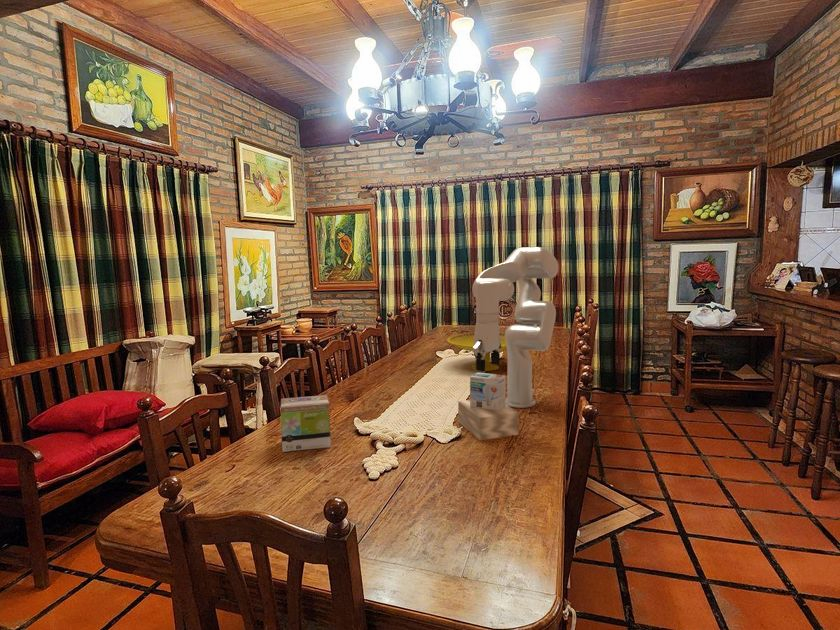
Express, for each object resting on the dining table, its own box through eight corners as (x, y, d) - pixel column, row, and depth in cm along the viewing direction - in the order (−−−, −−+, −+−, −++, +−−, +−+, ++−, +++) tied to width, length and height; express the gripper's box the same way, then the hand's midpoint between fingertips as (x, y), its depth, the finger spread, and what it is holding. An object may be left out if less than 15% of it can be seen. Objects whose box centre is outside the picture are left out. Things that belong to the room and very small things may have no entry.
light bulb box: (469, 406, 162) (469, 376, 161) (477, 401, 168) (477, 371, 167) (498, 411, 157) (498, 379, 156) (506, 405, 163) (506, 375, 161)
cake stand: (535, 363, 254) (535, 335, 252) (507, 381, 220) (507, 350, 218) (467, 356, 275) (467, 330, 273) (432, 371, 241) (431, 342, 239)
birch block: (493, 418, 174) (493, 396, 173) (518, 435, 157) (518, 412, 156) (458, 422, 170) (458, 401, 169) (479, 441, 153) (479, 417, 152)
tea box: (282, 453, 146) (279, 407, 144) (282, 441, 155) (279, 397, 153) (331, 447, 150) (329, 402, 148) (329, 436, 159) (327, 393, 157)
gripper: (490, 313, 168) (491, 360, 170) (464, 320, 154) (465, 371, 157) (509, 314, 163) (510, 363, 166) (484, 322, 150) (484, 375, 152)
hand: (488, 367), depth 161 cm, fingers open, 9 cm apart
